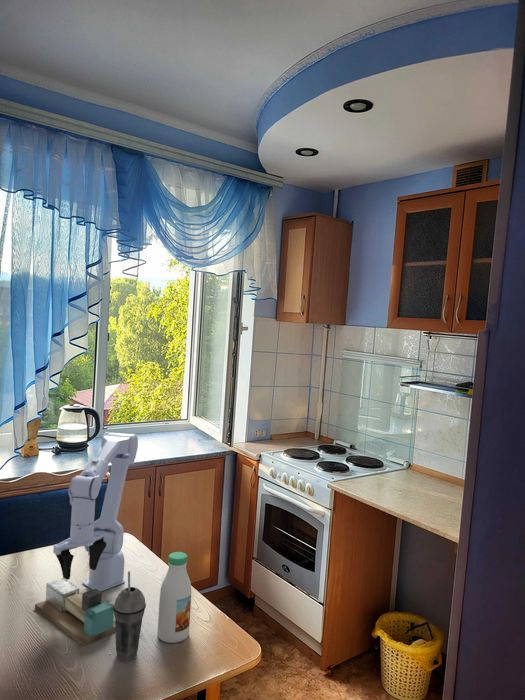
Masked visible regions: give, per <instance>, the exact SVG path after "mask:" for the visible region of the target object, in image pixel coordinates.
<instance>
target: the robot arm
mask: <svg viewBox="0 0 525 700" xmlns="http://www.w3.org/2000/svg"><path fill="white" fill-rule="evenodd" d="M100 443H101V444H100V447H101V449H100V451H99V453H98V455H97V457H95V458H92V459H90V460H89V462H88V463H87V465H85V467H84V469H82V471H81V473H80V474H79V475H78V474H77V475H75V476H74V477H72V478H71V480H70V481H69V482H70V483H69V485H68V488H67V489H68V497H69V505H70V506H71V512H70V513H71V514H70V515H71V517H70V531H69V532H70V535H69V536H70V537H68V538H67V539H64V540H62V541H61V542H58V543H56V544H53V548H52V549H53V550H52V551H53V552H52V553H53V554H54V555H55V556H56V558H57V560H58V562H59V565H60V568H61V572H62V577H63V578H64V579H66V580H67V581H69V580H70V578H71V572H72V571H71V570H72V563H73V559H74V557H75V555H74V554H72V553H71V550H73V549H78V548H81V547H84V549H85V550H84V551H86V552H87V555H88V556H89V558H88V559H89V561H88V564H89V565H88V568H89V572H88V574H89V575H88V579H85V580H83V581H82V582H81V583H82V584H83V585H84V586H86V587H88V588H89V589H91V590H93V589H95V588H96V589H97V590H99V591H100V592H103V591H105V590H108V589H112V588H113V587H114V588H115V587H116V586H119V585H121V584H123V583H124V584H125V583H126V580H125V579H124V576H125V575H124V574H125V557H124V555H125V554H124V552H122V548H123V544H124V534H125V529H124V527H123V525H122V524H121V523H120V522H119V521H118V515H119V511H120V505H121V500H122V496H123V492H124V491H123V490H124V488H125V482H126V478H127V477H126V476H127V472H128V469H129V466H130V465H131V464H133V463H135V459H136V457H137V452H138V447H139V439H138V435H137V434H135V433H123V432H122V433H121V432H111V431H106V432H105V433H103V435H102V438H101V441H100ZM110 464H111V469H110V472H109V465H110ZM108 473H109V476H108V477H109V478H108V482H107V486H106V490H105V494H104V500H103V504H102V508H101V513H100V516H99V518H98V519H96V520H95V510H96V499H97V497H98V496H99V493H100V489H101V487H102V482H103V480H104V478H105V477H106V475H107V474H108Z"/></svg>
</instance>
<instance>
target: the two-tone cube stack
mask: <svg viewBox="0 0 525 700" xmlns="http://www.w3.org/2000/svg"><path fill="white" fill-rule="evenodd" d="M102 592H103V591H101V592H100V591H99V590H97V589H96V588H95V589H93V590H92V589H91V590H87V591H84V592H83V593H82V596H81V595H80V593H79V594H77V593H76V592H74V593H71V594H69V595H66V596H64V608H65V609H66V610H68V611H69V612H71V613H72V614H73V615H75V616H76V617H78V618H79V619H80V620H82V621H83V622H84V619H85V610H87V609H89V608H91V607H94V606H96V605H99V604H101V603H102V598H103V597H102V596H103V594H102Z"/></svg>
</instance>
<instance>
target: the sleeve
mask: <svg viewBox="0 0 525 700" xmlns="http://www.w3.org/2000/svg"><path fill="white" fill-rule="evenodd" d="M45 589H46V590H45V600H46V602H47V603H48V604H50V605H51V606H52V607H54V608H55V609H56V610H58V611H59V612H61V613H63V612H65V611H68V610H66V609H65V608H64V596H66V595H69V594H71V593H74V592H76V593H77V594H79V595H80V587H78V586H76V585H75V584H73V583H72V582H70V581H69V580H66V579H65V578H58V579H56V580H54V581H51V582H47V583H46V588H45Z"/></svg>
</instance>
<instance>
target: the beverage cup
mask: <svg viewBox="0 0 525 700" xmlns="http://www.w3.org/2000/svg"><path fill="white" fill-rule="evenodd" d="M113 605H114V607H113V609H114V621H115V630H116V631H115V651H116V652H115V653H116V659H117V660H118V661H120V662H124V663H128V662H127V661H129V662H132V661H134V660H135V659H136V658H137V657H138V655H137V654H138V650H139V643H140V638H141V637H140V636H141V630H142V625H143V624H142V623H143V617H144V614H145V610H146V608H147V604H146V598H145V595H144V593H143V592H142V591H141V590H140V589H139V588H137V587H135V586H131V571H130V570H129V571H128V572H127V587H125V588H123V589H122V590H121V591H120V592H119V593H118V594H117V596H116V598H115V601H114V604H113ZM136 656H137V657H136ZM135 657H136V658H135ZM134 658H135V659H134ZM133 659H134V660H133ZM131 660H132V661H131Z"/></svg>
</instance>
